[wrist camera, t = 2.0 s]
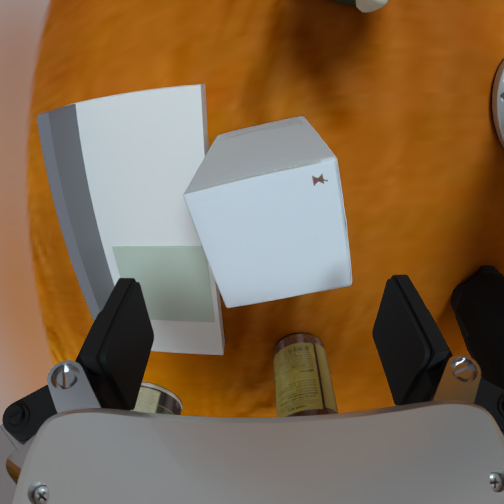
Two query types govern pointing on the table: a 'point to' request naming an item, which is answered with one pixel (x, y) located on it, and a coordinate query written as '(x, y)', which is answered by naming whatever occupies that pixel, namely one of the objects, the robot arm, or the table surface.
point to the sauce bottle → (303, 377)
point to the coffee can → (157, 400)
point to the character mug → (365, 4)
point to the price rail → (75, 204)
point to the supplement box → (271, 213)
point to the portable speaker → (483, 321)
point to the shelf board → (154, 207)
